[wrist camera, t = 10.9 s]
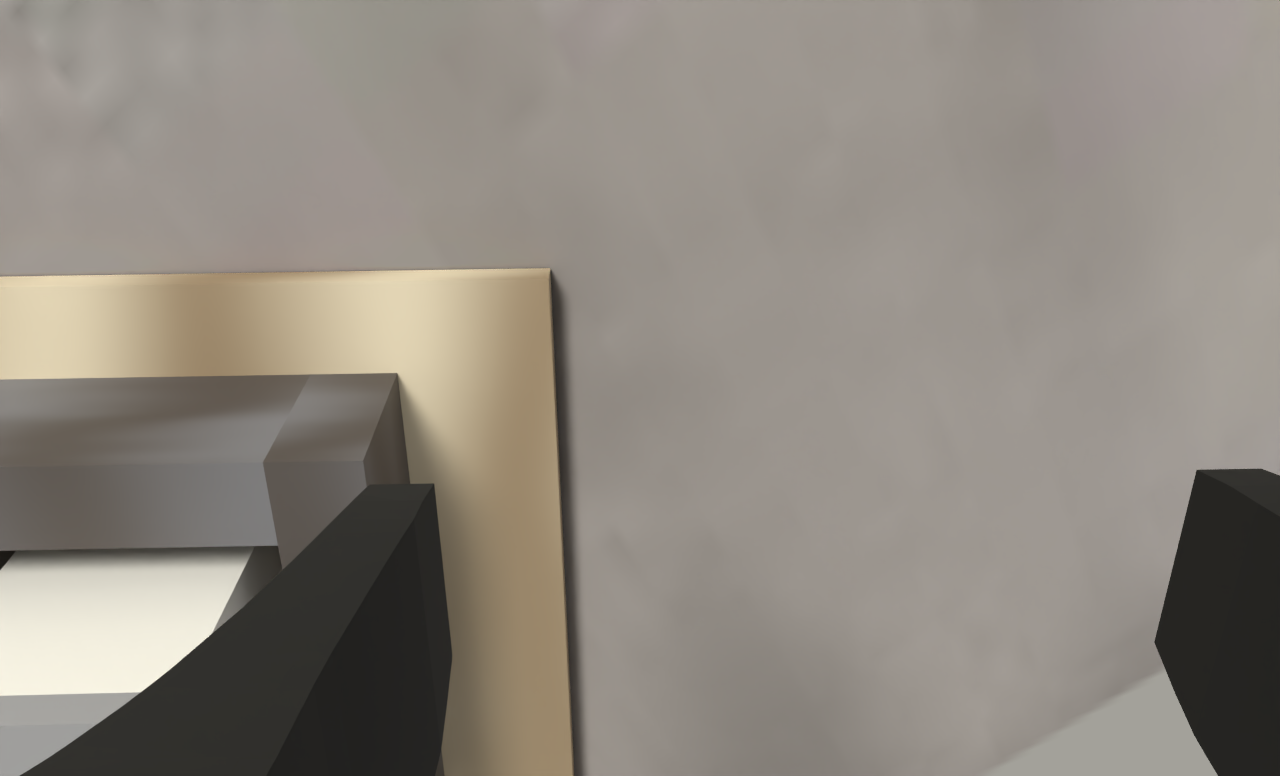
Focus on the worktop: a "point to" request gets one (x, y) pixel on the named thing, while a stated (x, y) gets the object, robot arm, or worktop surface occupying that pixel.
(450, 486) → the socket
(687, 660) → the worktop surface
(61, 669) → the plug
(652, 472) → the worktop surface
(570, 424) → the worktop surface
